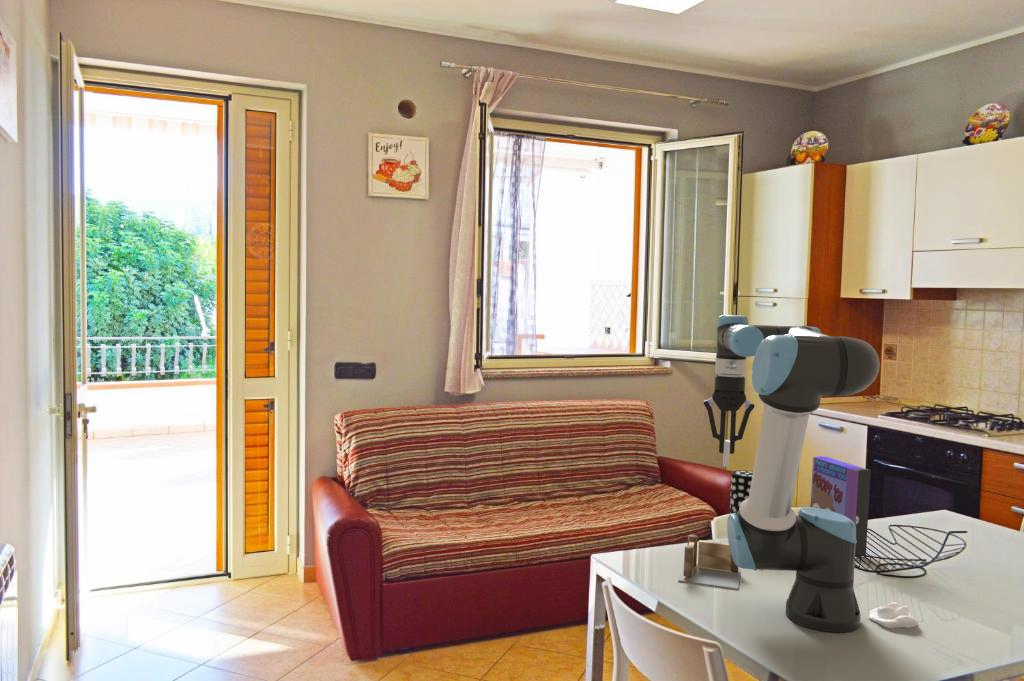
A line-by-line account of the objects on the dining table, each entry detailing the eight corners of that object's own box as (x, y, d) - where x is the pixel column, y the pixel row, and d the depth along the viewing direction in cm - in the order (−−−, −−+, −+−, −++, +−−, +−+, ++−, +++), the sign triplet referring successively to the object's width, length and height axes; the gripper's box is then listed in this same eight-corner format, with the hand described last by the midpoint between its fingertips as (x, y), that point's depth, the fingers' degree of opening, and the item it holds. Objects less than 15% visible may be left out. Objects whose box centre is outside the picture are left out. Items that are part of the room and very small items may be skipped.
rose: (912, 616, 164) (863, 603, 170) (911, 636, 164) (862, 623, 170) (924, 602, 172) (876, 590, 178) (923, 622, 172) (875, 610, 178)
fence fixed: (738, 571, 200) (739, 540, 199) (738, 574, 197) (739, 543, 197) (687, 564, 204) (688, 534, 203) (686, 567, 201) (687, 536, 201)
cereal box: (808, 538, 229) (813, 456, 228) (822, 537, 231) (826, 456, 229) (851, 558, 213) (856, 470, 211) (865, 557, 214) (870, 469, 213)
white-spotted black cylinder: (752, 550, 217) (756, 478, 215) (723, 544, 222) (727, 473, 220) (763, 543, 223) (767, 473, 222) (735, 537, 228) (738, 468, 227)
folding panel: (687, 564, 201) (688, 537, 200) (695, 565, 200) (696, 538, 200) (683, 576, 192) (684, 548, 192) (691, 577, 192) (692, 549, 191)
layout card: (740, 570, 200) (740, 568, 200) (738, 590, 187) (738, 588, 187) (684, 563, 205) (684, 561, 205) (678, 581, 191) (678, 579, 191)
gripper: (703, 375, 201) (699, 466, 203) (757, 378, 198) (752, 471, 200) (704, 372, 208) (700, 460, 210) (755, 375, 205) (751, 464, 207)
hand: (725, 465), depth 205 cm, fingers closed
